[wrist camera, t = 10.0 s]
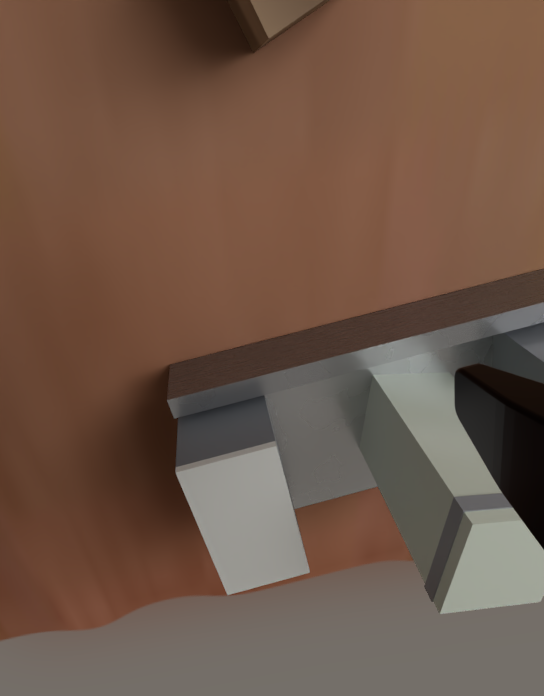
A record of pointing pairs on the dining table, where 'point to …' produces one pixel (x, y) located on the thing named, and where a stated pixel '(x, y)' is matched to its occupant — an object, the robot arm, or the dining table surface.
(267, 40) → the walnut block
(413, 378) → the block
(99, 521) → the dining table surface
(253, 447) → the block
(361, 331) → the grey base plate
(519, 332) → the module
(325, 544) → the dining table surface
